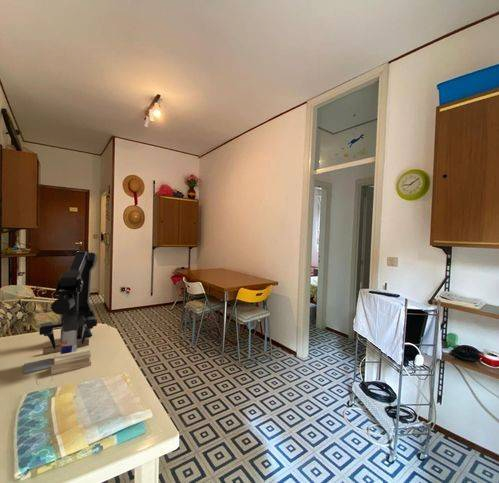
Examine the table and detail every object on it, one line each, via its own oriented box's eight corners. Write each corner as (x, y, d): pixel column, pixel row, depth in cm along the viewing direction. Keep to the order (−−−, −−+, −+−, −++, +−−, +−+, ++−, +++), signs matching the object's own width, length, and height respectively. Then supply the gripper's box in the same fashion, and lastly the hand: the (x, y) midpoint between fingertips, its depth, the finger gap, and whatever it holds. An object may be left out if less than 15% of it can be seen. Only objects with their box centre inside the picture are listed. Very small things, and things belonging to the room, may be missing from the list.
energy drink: (57, 357, 106) (58, 327, 105) (71, 352, 110) (72, 323, 110) (65, 361, 103) (65, 330, 103) (79, 355, 108) (79, 326, 107)
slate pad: (24, 364, 99) (24, 363, 99) (51, 359, 104) (51, 358, 104) (23, 374, 93) (23, 372, 93) (52, 367, 98) (52, 366, 98)
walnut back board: (42, 353, 108) (42, 346, 108) (88, 344, 118) (88, 337, 118) (42, 354, 108) (43, 347, 107) (88, 345, 118) (88, 338, 117)
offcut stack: (50, 368, 97) (50, 356, 97) (88, 360, 105) (89, 348, 105) (51, 374, 93) (51, 362, 93) (90, 365, 101) (91, 353, 101)
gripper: (40, 316, 94) (39, 360, 94) (100, 308, 106) (98, 347, 106) (39, 308, 103) (38, 349, 103) (95, 302, 115) (94, 339, 115)
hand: (68, 346), depth 106 cm, fingers open, 9 cm apart
